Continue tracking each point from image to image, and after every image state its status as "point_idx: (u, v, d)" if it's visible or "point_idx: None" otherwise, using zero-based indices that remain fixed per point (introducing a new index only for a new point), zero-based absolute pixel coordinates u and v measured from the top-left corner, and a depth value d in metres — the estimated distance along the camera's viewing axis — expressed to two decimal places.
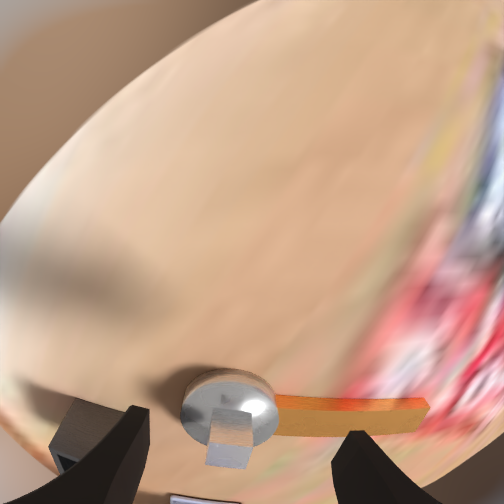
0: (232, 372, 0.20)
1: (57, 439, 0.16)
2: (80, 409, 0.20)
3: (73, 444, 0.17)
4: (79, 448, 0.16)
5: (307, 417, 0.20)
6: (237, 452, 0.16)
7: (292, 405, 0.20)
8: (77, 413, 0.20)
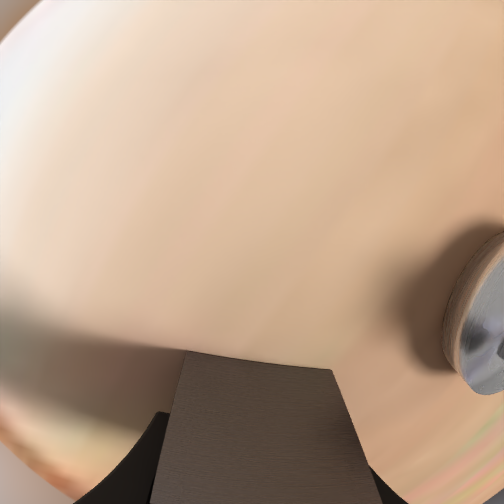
0: None
1: (174, 471, 0.05)
2: (209, 375, 0.09)
3: (233, 475, 0.06)
4: (259, 484, 0.06)
5: None
6: None
7: None
8: (207, 386, 0.09)
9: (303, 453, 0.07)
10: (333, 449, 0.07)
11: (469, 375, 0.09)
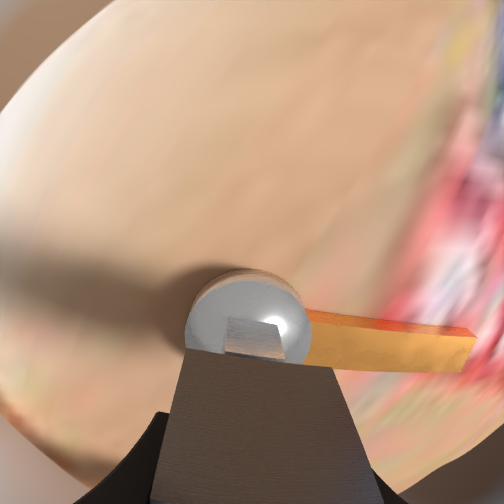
0: (253, 271, 0.17)
1: (174, 467, 0.06)
2: (209, 372, 0.09)
3: (233, 471, 0.06)
4: (260, 480, 0.06)
5: (345, 338, 0.17)
6: None
7: (326, 321, 0.17)
8: (207, 383, 0.09)
9: (303, 449, 0.07)
10: (333, 445, 0.07)
11: None
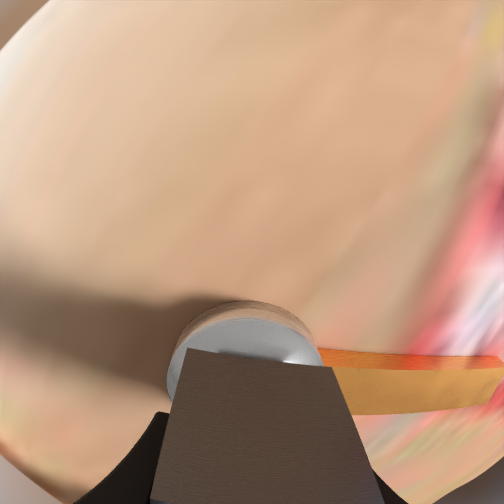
0: (253, 305, 0.13)
1: (175, 467, 0.06)
2: (209, 371, 0.09)
3: (233, 471, 0.06)
4: (260, 479, 0.06)
5: (365, 382, 0.13)
6: None
7: (344, 363, 0.13)
8: (207, 383, 0.09)
9: (304, 449, 0.07)
10: (333, 445, 0.07)
11: None
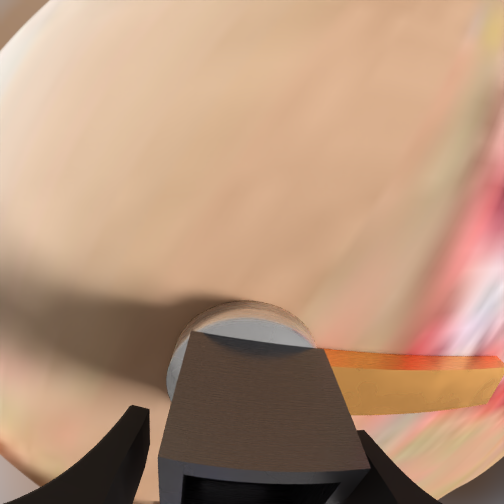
0: (252, 305, 0.13)
1: (180, 430, 0.07)
2: (211, 351, 0.10)
3: (232, 433, 0.07)
4: (256, 441, 0.07)
5: (365, 382, 0.13)
6: None
7: (344, 363, 0.13)
8: (210, 360, 0.10)
9: (296, 417, 0.08)
10: (323, 415, 0.08)
11: None
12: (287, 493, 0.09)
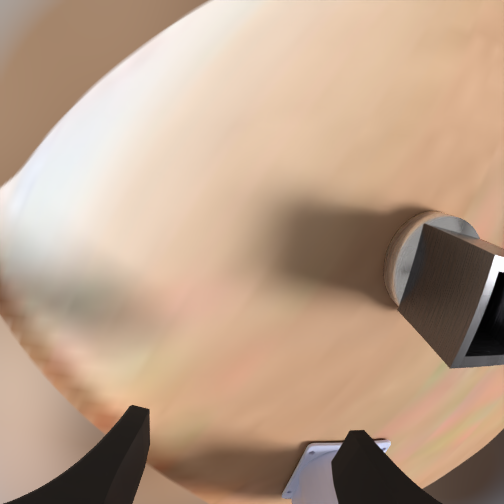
0: (441, 212, 0.17)
1: (485, 249, 0.11)
2: (446, 230, 0.14)
3: (500, 253, 0.11)
4: None
5: None
6: None
7: None
8: (452, 233, 0.14)
9: None
10: None
11: None
12: (489, 336, 0.13)
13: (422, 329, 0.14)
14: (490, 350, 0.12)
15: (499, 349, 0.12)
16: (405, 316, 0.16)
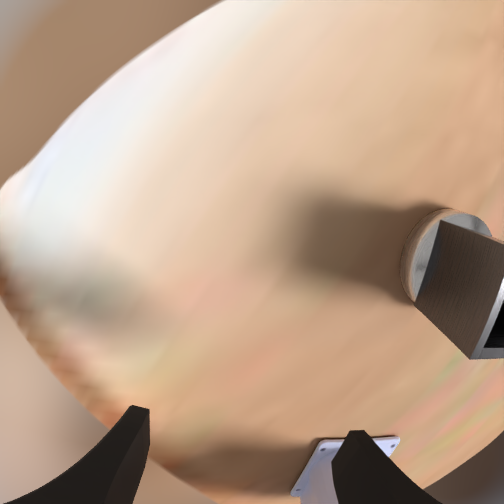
0: (456, 210, 0.17)
1: (503, 243, 0.10)
2: (462, 227, 0.14)
3: None
4: None
5: None
6: None
7: None
8: (468, 229, 0.14)
9: None
10: None
11: None
12: (502, 330, 0.13)
13: (440, 323, 0.14)
14: None
15: None
16: (422, 311, 0.16)
